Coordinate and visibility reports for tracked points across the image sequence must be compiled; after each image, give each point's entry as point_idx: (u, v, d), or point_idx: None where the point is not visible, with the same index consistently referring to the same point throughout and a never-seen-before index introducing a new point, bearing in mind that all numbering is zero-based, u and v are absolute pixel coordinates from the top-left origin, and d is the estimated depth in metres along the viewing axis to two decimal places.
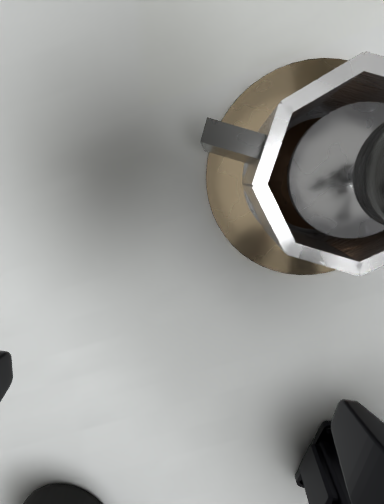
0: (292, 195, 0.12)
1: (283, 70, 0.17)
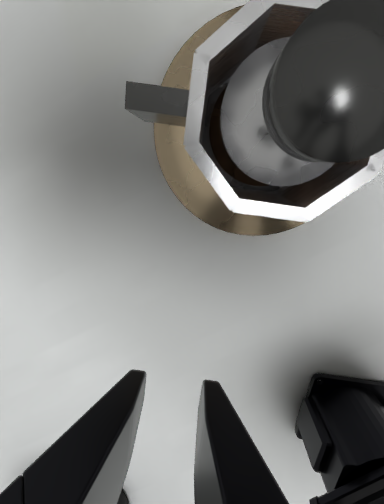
0: (227, 150, 0.12)
1: (214, 22, 0.16)
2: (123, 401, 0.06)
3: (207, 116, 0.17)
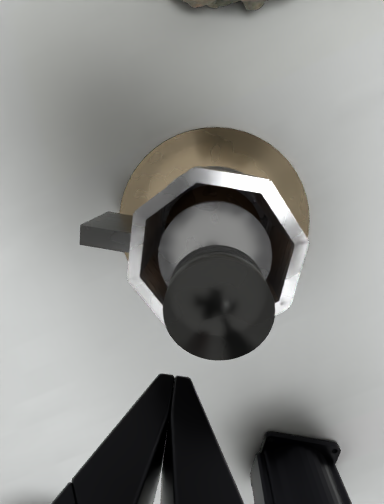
0: (165, 280, 0.14)
1: (170, 141, 0.18)
2: (157, 406, 0.06)
3: (164, 218, 0.19)
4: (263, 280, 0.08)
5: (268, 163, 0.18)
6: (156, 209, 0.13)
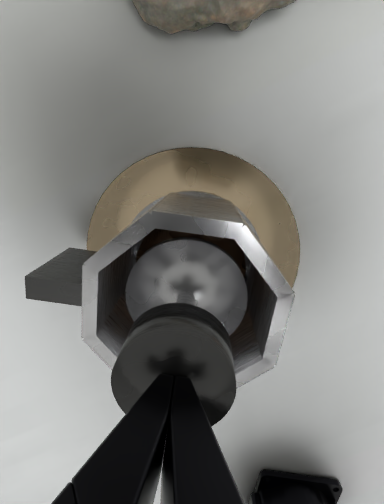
0: (135, 321, 0.13)
1: (139, 165, 0.16)
2: (157, 406, 0.06)
3: (136, 250, 0.17)
4: (221, 352, 0.07)
5: (251, 186, 0.16)
6: (109, 260, 0.11)
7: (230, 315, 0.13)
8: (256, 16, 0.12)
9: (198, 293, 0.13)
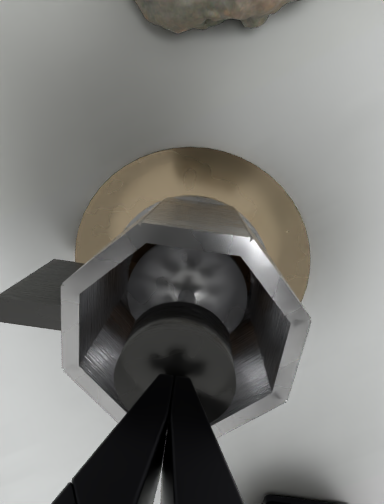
0: None
1: (131, 166, 0.14)
2: (157, 406, 0.06)
3: (129, 261, 0.15)
4: (221, 349, 0.08)
5: (256, 190, 0.14)
6: (92, 280, 0.09)
7: (230, 315, 0.13)
8: (275, 10, 0.11)
9: (198, 292, 0.13)
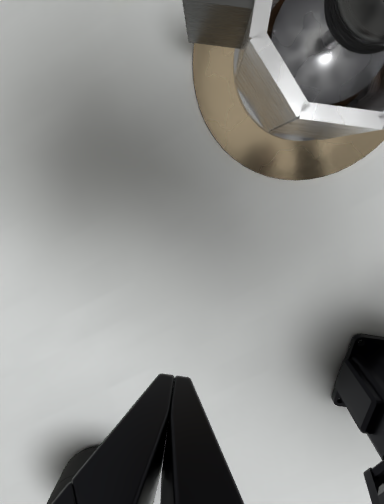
0: None
1: None
2: (157, 406, 0.06)
3: None
4: None
5: None
6: None
7: (373, 57, 0.13)
8: None
9: None
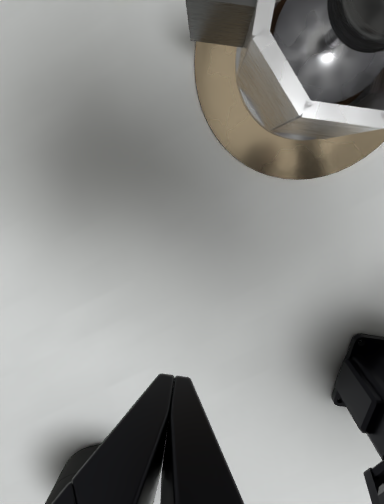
0: None
1: None
2: (157, 406, 0.06)
3: None
4: None
5: None
6: None
7: (375, 56, 0.13)
8: None
9: None
